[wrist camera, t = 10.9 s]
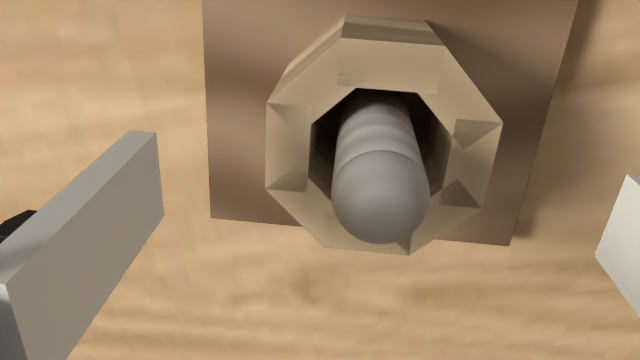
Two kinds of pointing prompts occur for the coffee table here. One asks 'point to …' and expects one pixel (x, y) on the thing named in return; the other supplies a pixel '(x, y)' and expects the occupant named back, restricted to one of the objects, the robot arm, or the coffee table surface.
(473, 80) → the post base
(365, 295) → the coffee table surface
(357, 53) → the collar
